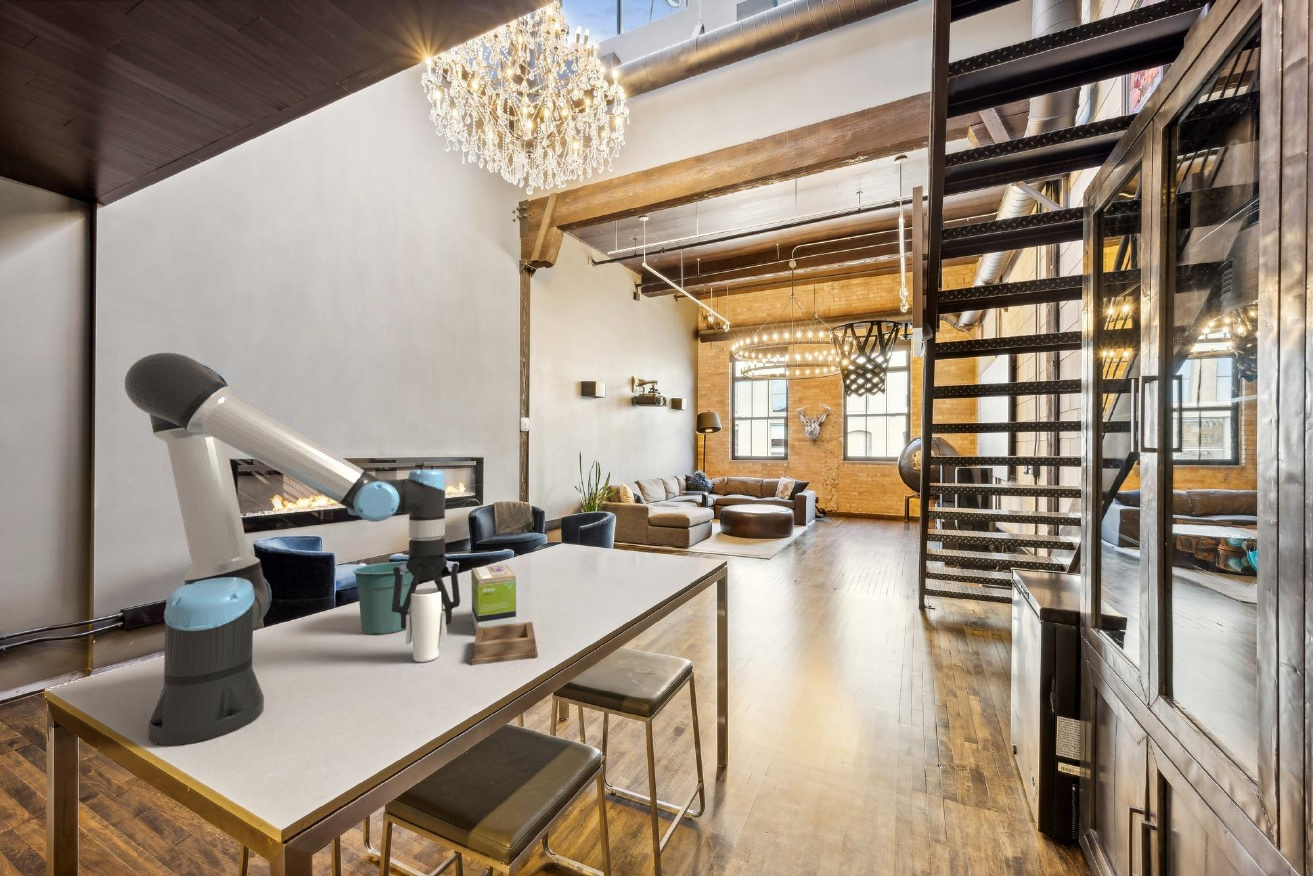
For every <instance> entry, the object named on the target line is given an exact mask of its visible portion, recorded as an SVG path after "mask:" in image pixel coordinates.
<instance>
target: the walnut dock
mask: <svg viewBox="0 0 1313 876" xmlns="http://www.w3.org/2000/svg"><path fill="white" fill-rule="evenodd" d="M475 631H476V630H475ZM537 647H538V646H537V642H536V636H535V631H534V623H533V621H529V622H528V621H527V622H516V624H505V625H494V626H484V627H477V631H476V633H475V639H474V644H473V651H472V656H471V666H473V665H475V666H476V665H483V664H491V663H492V664H493V663H500V662H509V661H517V659H520V660H528V659H527V658H529V659H533V658H532V657H538V654H539V653H538V652H539V651H538V648H537ZM538 658H539V657H538Z"/></svg>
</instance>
